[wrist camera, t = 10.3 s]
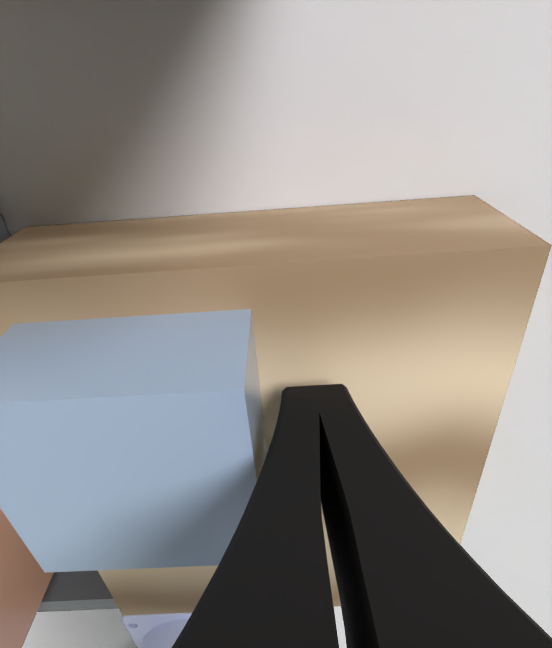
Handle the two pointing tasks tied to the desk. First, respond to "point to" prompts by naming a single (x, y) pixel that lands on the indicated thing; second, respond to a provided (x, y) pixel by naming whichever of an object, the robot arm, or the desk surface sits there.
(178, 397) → the light blue square block
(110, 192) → the desk surface
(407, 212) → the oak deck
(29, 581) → the terracotta tile
